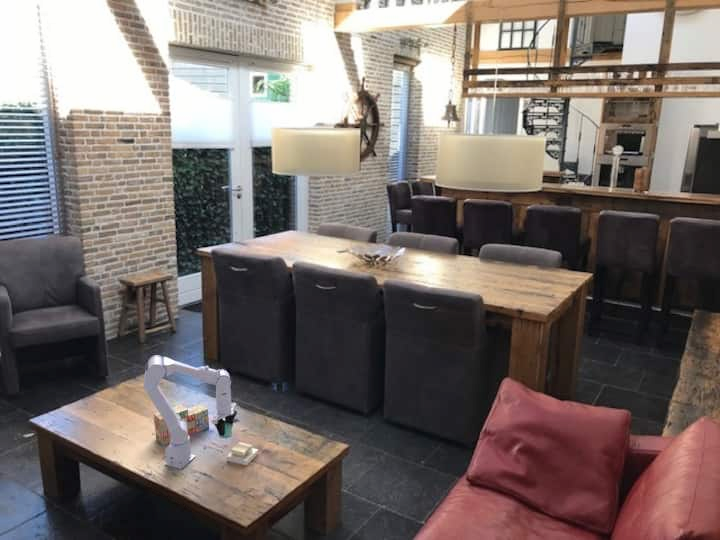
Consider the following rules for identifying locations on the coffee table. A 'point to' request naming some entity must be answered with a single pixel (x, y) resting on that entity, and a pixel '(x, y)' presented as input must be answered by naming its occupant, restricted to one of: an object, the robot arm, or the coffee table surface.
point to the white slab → (243, 460)
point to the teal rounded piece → (227, 431)
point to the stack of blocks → (193, 417)
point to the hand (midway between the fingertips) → (225, 431)
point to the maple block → (241, 450)
